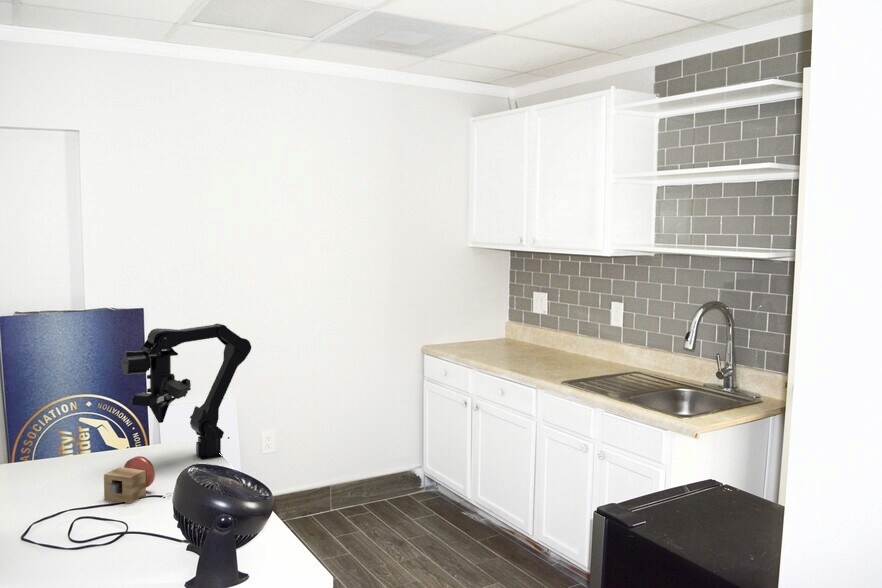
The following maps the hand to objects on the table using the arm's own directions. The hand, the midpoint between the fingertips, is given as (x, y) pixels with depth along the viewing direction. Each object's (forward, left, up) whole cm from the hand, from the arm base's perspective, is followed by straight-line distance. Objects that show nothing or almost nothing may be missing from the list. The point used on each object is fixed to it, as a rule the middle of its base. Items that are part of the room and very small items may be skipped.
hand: (160, 422), depth 210 cm
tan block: (+14, +22, -13) cm, 29 cm away
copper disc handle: (+13, +22, -13) cm, 29 cm away
